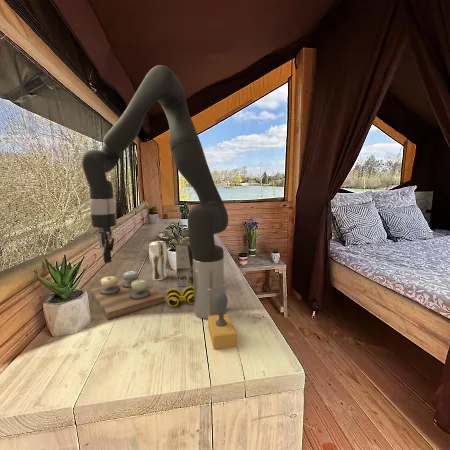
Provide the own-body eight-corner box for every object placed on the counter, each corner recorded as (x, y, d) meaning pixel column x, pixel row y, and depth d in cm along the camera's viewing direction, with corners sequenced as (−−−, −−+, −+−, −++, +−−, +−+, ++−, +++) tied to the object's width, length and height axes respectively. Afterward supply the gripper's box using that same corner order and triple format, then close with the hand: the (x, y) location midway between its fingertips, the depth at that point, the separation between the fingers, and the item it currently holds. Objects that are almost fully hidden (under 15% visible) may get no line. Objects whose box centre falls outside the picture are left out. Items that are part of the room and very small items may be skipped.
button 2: (149, 288, 91) (149, 282, 90) (134, 292, 88) (134, 286, 87) (143, 284, 95) (143, 278, 94) (129, 287, 92) (128, 281, 91)
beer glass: (146, 279, 111) (144, 243, 109) (158, 274, 117) (156, 240, 115) (160, 282, 108) (158, 245, 106) (171, 276, 114) (169, 241, 112)
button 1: (118, 284, 94) (118, 278, 94) (103, 288, 91) (102, 282, 91) (114, 280, 98) (114, 274, 98) (99, 283, 95) (99, 278, 95)
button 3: (140, 278, 100) (139, 273, 99) (126, 281, 97) (126, 276, 96) (135, 274, 104) (135, 269, 103) (122, 277, 101) (121, 272, 100)
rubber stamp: (208, 327, 75) (207, 286, 73) (228, 325, 76) (228, 284, 74) (213, 349, 65) (212, 303, 63) (237, 346, 66) (236, 300, 64)
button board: (164, 301, 91) (163, 293, 90) (107, 319, 80) (106, 309, 79) (140, 282, 108) (139, 275, 107) (91, 294, 97) (90, 286, 97)
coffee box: (192, 287, 102) (191, 245, 100) (176, 286, 104) (174, 245, 101) (199, 278, 111) (198, 240, 109) (184, 277, 113) (183, 239, 110)
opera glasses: (168, 310, 87) (167, 297, 85) (166, 300, 92) (166, 287, 90) (197, 305, 90) (198, 293, 88) (194, 296, 95) (194, 284, 93)
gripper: (120, 213, 88) (124, 264, 91) (109, 209, 98) (113, 255, 101) (95, 215, 83) (100, 269, 86) (86, 211, 93) (91, 259, 97)
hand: (107, 262), depth 94 cm, fingers closed
